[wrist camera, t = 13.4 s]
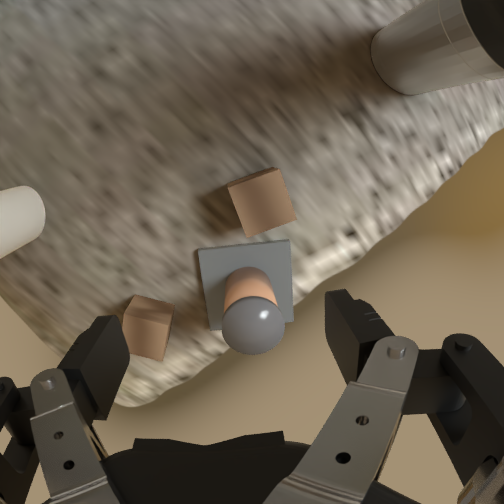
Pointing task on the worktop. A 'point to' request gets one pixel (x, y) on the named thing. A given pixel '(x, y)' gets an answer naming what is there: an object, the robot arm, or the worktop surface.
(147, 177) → the worktop surface
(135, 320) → the block
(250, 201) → the block
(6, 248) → the cylindrical container
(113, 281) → the worktop surface
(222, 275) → the coaster
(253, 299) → the tan jar
